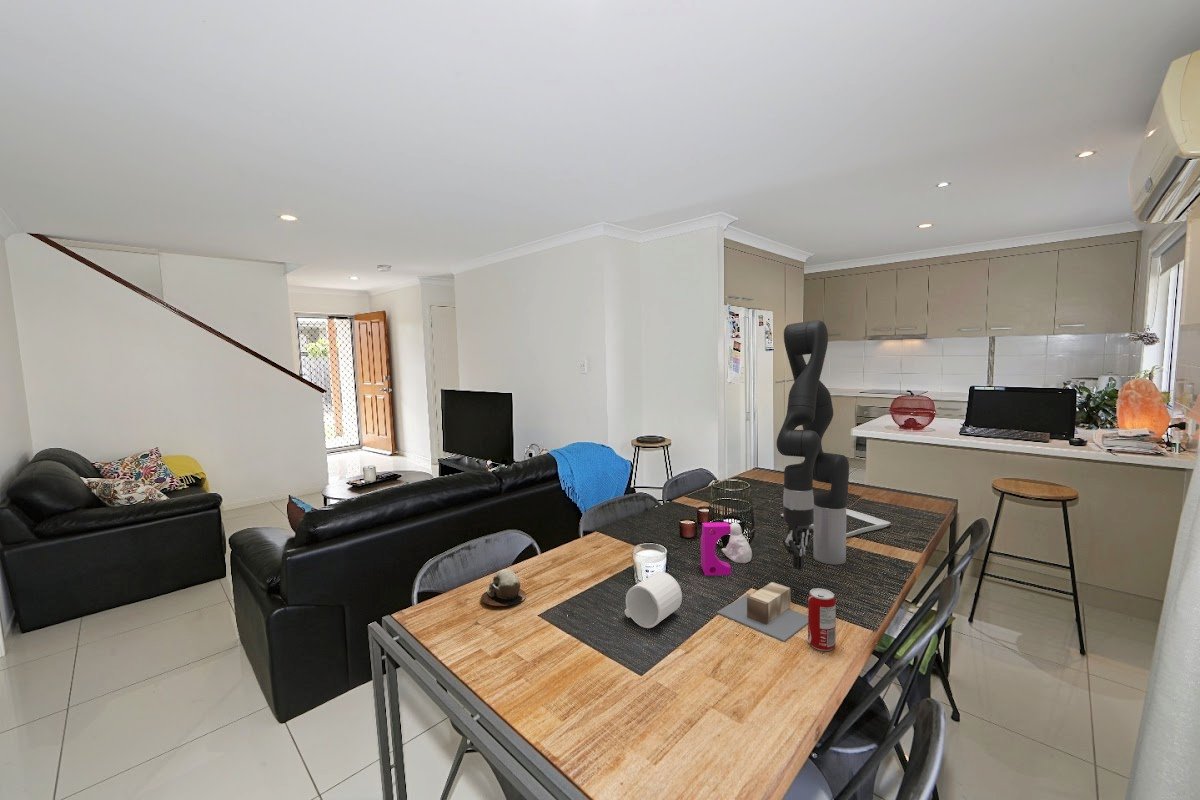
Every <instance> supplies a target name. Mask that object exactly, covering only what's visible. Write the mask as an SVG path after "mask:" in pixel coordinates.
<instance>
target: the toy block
mask: <svg viewBox="0 0 1200 800" xmlns="http://www.w3.org/2000/svg"><path fill="white" fill-rule="evenodd" d="M730 533H731V530H730V523H729V522H727V521H726V522H725V521H723V522H720V521H719V522H718V521H717V522H702V523H701V535H700V567H701V569H702V571H703V574H704V576H731V575H732V567H731V566H730V564H729V562H726V561H723V560H721V559H720V558H719V557H718V556H717V555H716V552H715V551H716V546H717V543H718V541H720V539H721V538H722V537H723V536H725V535H730Z"/></svg>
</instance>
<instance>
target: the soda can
mask: <svg viewBox="0 0 1200 800" xmlns="http://www.w3.org/2000/svg"><path fill="white" fill-rule="evenodd" d="M807 601H808V603H807V616H808V624H807V642H808V644H809V645H810V646H811V647H812V648H814V649H816V650H818V651H822V652H828V651H833V649H834V648H835V647H836V642H837V641H836V640H837V639H836V632H837V631H836V626H837V623H836V622H837V621H836V619H837V614H836V613H837V607H836V606H837V603H836V598H835V593H833V592H832V591H830V590H829V589H825V588H821V587H820V588H819V587H818V588H817V587H816V588H811V590H809V594H808V597H807Z"/></svg>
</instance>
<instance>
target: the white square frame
mask: <svg viewBox="0 0 1200 800" xmlns="http://www.w3.org/2000/svg"><path fill="white" fill-rule="evenodd" d="M780 516H781V517H782V518H783V513H780ZM846 516H850V517H853V518H855V519H858V520H861V521H865V522H867V523H871V524H873V525H870V526H866V527H862V528H858V529H856V530H852V531H850V532H846V538H849V537H853V536H857V535H860V534H864V533H868V532H872V531H876V530H877V531H878V530H881V529H885V528H886V527H888V526H889V525H891V521H888V520H884V519H883V518H882V519H881V518H878V517H875V516H873V515H869V514H866V513H862V512H858V511H857V510H856V511H855V510H852V509H848V508H846ZM809 529H812V530H813V531H814V523H813V524H811V525H809Z"/></svg>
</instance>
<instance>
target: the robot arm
mask: <svg viewBox="0 0 1200 800" xmlns="http://www.w3.org/2000/svg"><path fill="white" fill-rule="evenodd" d="M783 342H784V348H785V351H786V355H787V358H788V363H789V366H790V369H791V374H792V377H793V383H792V385H791V387H790V389H789V392H788V400H787V409H786V415H785V418H784V421H783V424H782V426H781V429H780V431H779V433H778V435H777V437H776V448H777V451H778V453H779V454H781V455H782V456H785V457H802V458H804V461H803V462H801V463H793V464H788V465H786V466H785V467H784V472H783V484H784V485H783V497H782V502H783V503H782V510H783V512H782V514H783V517H782V520H783V522H784V523H785V524H787V526H788V527H787V532H786V533H787V537H786V538H785V537H784V538H782V544H783V546H784V548H785V550H786V551H787V554H789V555H793V556H792V558H793V559H792V566H793V568H794V569H795V570H799V571H800V570H802V569H803V568H804V567H805V562H804V561H805V558H804V557H805V555H806V551H808V550H809V549H810V548H809V547H810V545H811V542H812V539H813V545H812V546H813V550H812V551H813V555H812V556H813V559H814V560H815V561H817V562H819V563H823V564H826V565H834V566H835V565H836V566H839V565H843V564H846V562H847V537H846V533H847V514H846V509H847V500H848V495H849V481H850V479H849V478H850V477H849V476H850V463H849V462H850V461H849V459H848V458H847V456H846V455H843V454H841V453H840V454H839V453H832V452H830V453H829V452H825V451H824V450H823V446H822V440H823V437H824V435H825V432H826V431H827V430H828V428H829V426H830V424H831V422H832V420H833V418H834V408H833V407H834V406H833V400H832V396H831V392H830V391H829V389H828V388H827V387H826V385H825V384H824V383H823V382H822V381H821V374H822V372H823V368H824V362H825V359H826V353H827V349H828V343H829V332H828V328H827V325H826V324H825V322H824V321H823V320H809V321H802V322H794V323H790V324H787V325H786V326H785V327H784V330H783ZM804 355H810V357H809V359H808V362H806V360H805V357H804ZM800 426H802V429H796V428H798V427H800ZM813 481H815V482H819V483H825V484H830V485H831V486H830V490H828V491H827V490H826V491H821V492H818V493H815V494H814V491H813V490H814V489H813V488H814V486H813V485H814V484H813V483H814V482H813ZM811 524H813V525H814V530H813V529H811V528H809V525H811Z"/></svg>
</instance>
